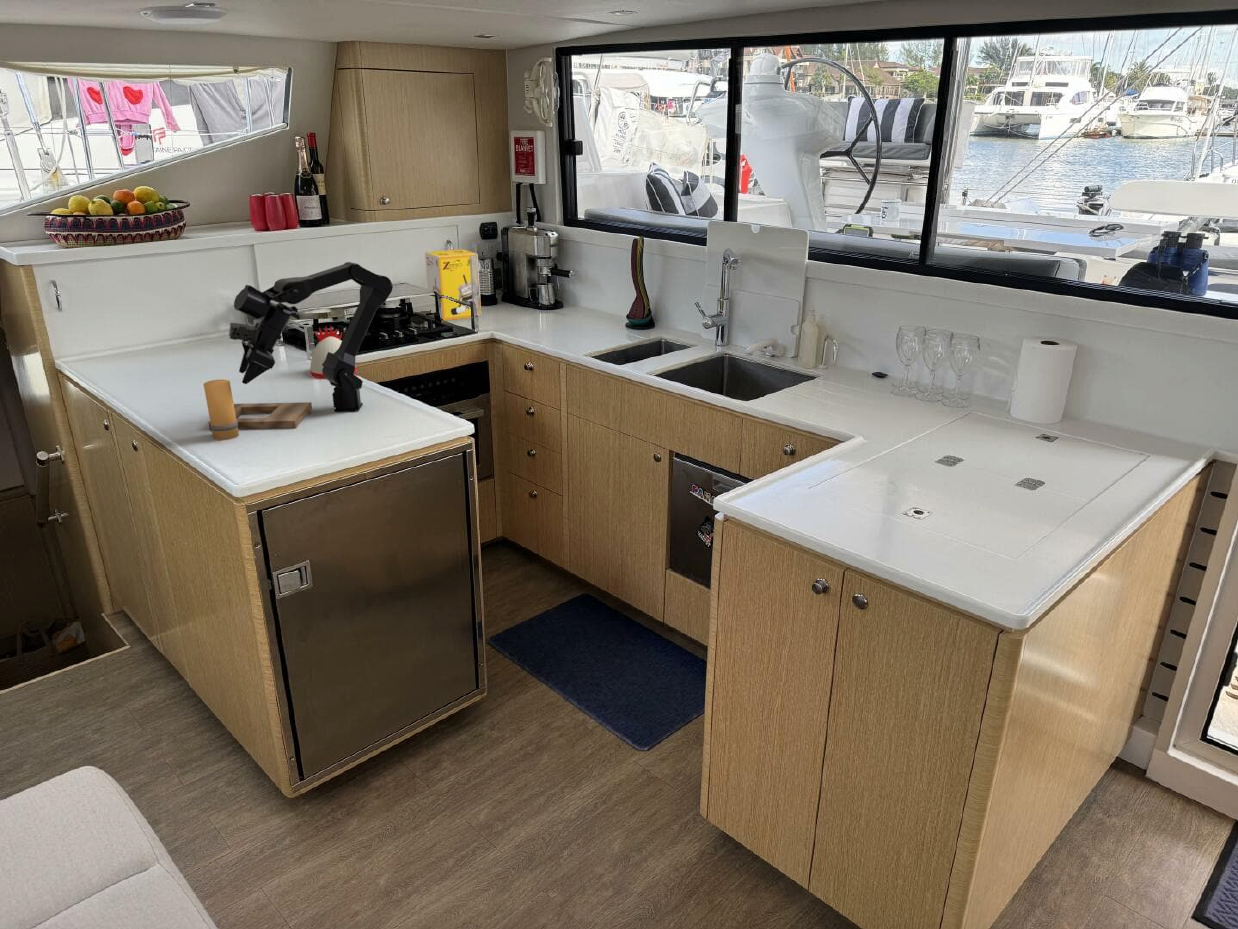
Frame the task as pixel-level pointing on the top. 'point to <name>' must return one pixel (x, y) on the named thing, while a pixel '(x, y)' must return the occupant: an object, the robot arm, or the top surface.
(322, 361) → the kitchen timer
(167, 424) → the top surface
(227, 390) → the orange round cylinder
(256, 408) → the wooden frame
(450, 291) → the packaging box
